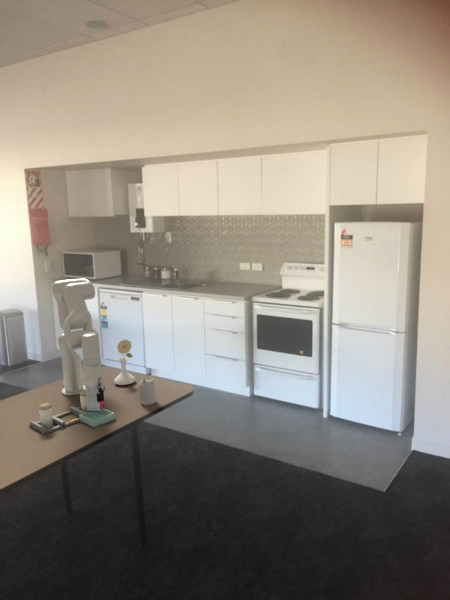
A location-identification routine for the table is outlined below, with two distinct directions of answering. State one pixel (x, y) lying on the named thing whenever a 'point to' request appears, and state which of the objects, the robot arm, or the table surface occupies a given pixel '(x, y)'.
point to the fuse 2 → (83, 401)
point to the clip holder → (57, 421)
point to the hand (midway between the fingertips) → (95, 398)
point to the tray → (97, 417)
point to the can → (147, 391)
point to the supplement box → (93, 400)
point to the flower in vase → (124, 363)
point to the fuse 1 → (46, 415)
